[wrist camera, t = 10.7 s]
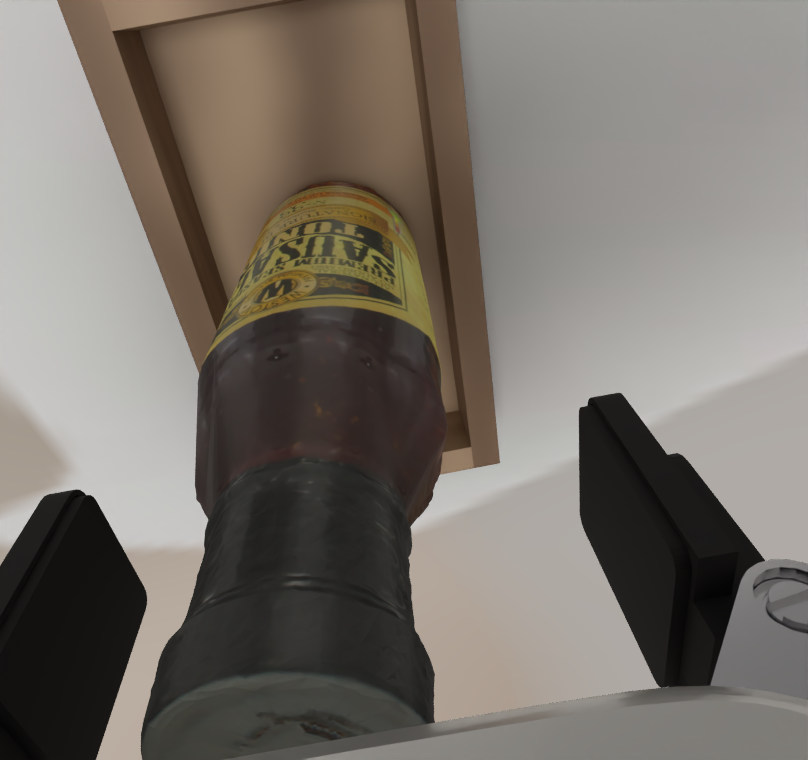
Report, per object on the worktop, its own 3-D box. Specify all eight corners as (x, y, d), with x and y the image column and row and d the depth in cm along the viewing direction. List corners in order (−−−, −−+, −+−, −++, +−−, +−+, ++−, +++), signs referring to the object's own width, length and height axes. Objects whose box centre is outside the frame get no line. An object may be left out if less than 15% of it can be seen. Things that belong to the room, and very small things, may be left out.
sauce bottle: (386, 150, 23) (513, 529, 6) (431, 295, 26) (596, 803, 9) (225, 206, 24) (-59, 695, 7) (288, 341, 27) (204, 901, 10)
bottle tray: (428, -64, 21) (447, -81, 18) (480, 414, 31) (499, 463, 28) (98, -4, 21) (53, -10, 17) (259, 456, 31) (251, 510, 28)
